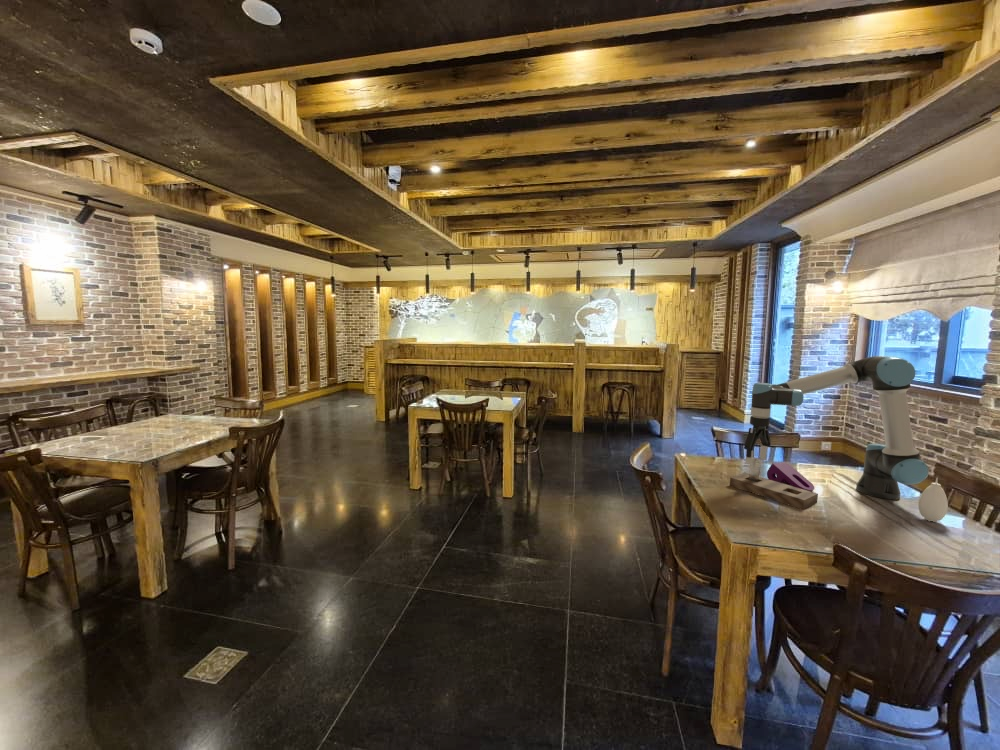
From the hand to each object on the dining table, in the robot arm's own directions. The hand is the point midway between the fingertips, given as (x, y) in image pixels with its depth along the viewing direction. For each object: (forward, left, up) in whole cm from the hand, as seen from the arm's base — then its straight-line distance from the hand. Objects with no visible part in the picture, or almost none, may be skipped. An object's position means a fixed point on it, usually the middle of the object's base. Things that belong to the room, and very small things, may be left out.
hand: (756, 461), depth 191 cm
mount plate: (-8, 0, -13) cm, 15 cm away
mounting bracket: (-8, -20, -13) cm, 25 cm away
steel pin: (0, 0, -13) cm, 13 cm away
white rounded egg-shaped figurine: (-54, -27, -13) cm, 61 cm away
